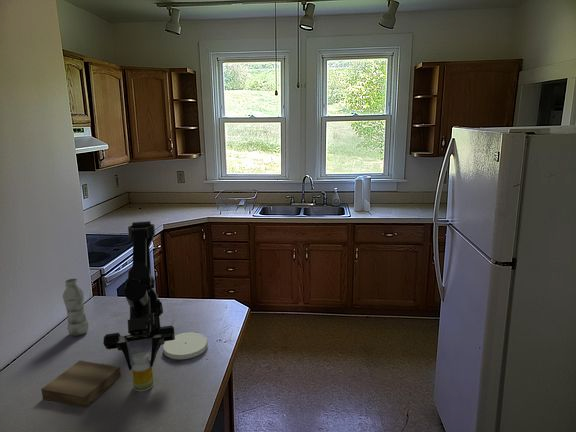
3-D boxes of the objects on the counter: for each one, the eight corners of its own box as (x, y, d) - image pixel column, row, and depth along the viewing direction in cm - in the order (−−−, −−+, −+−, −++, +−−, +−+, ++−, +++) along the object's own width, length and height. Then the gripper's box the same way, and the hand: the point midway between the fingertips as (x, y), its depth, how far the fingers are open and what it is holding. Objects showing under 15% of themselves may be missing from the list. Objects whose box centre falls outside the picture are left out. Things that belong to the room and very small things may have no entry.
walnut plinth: (80, 369, 124) (79, 360, 124) (120, 375, 121) (119, 366, 120) (42, 398, 111) (41, 389, 111) (86, 407, 108) (84, 397, 107)
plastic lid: (155, 351, 134) (154, 344, 134) (191, 334, 144) (191, 328, 144) (179, 367, 125) (178, 360, 124) (216, 349, 135) (216, 342, 134)
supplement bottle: (130, 385, 116) (127, 355, 114) (149, 378, 120) (146, 348, 117) (137, 395, 112) (133, 363, 110) (156, 386, 115) (153, 356, 113)
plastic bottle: (81, 338, 142) (73, 284, 138) (64, 337, 144) (55, 283, 139) (93, 329, 148) (86, 277, 144) (76, 328, 150) (69, 276, 145)
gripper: (100, 308, 112) (98, 366, 104) (171, 299, 117) (174, 355, 109) (108, 321, 121) (106, 376, 113) (173, 313, 126) (176, 365, 118)
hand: (140, 368), depth 113 cm, fingers closed on supplement bottle, 5 cm apart
